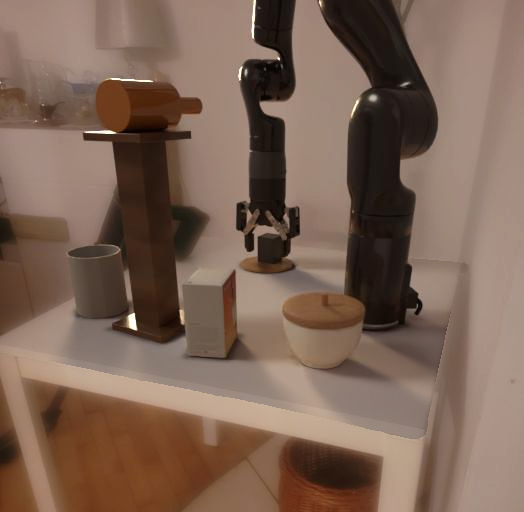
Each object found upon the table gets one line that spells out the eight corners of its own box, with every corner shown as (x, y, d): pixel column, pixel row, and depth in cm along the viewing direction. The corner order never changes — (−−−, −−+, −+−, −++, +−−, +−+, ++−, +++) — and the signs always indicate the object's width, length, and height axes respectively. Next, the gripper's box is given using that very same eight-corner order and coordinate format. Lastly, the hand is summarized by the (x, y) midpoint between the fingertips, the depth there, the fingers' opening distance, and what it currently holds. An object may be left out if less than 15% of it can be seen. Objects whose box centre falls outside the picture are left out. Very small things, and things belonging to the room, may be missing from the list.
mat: (288, 257, 112) (288, 254, 111) (296, 271, 102) (296, 269, 102) (240, 259, 111) (239, 256, 110) (243, 273, 101) (243, 271, 101)
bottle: (182, 127, 76) (179, 84, 74) (213, 128, 74) (211, 83, 71) (99, 132, 63) (91, 79, 61) (133, 133, 61) (127, 78, 58)
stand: (155, 308, 84) (136, 129, 71) (202, 320, 79) (191, 130, 67) (112, 329, 76) (82, 132, 63) (161, 343, 71) (139, 134, 59)
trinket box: (366, 378, 62) (373, 309, 58) (282, 377, 62) (283, 309, 58) (354, 341, 72) (359, 280, 67) (281, 341, 72) (281, 280, 68)
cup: (86, 300, 87) (76, 244, 83) (132, 299, 87) (125, 244, 83) (70, 318, 80) (58, 258, 75) (120, 318, 80) (112, 258, 75)
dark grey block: (266, 232, 107) (257, 236, 104) (282, 234, 105) (273, 238, 102) (266, 257, 110) (257, 261, 107) (282, 259, 108) (273, 264, 105)
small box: (225, 359, 67) (222, 286, 62) (186, 356, 68) (180, 283, 63) (238, 335, 74) (236, 267, 69) (202, 332, 75) (198, 265, 70)
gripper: (227, 174, 98) (230, 253, 106) (290, 178, 92) (288, 263, 99) (247, 170, 104) (248, 246, 111) (307, 174, 98) (304, 254, 105)
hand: (267, 253), depth 105 cm, fingers open, 8 cm apart
